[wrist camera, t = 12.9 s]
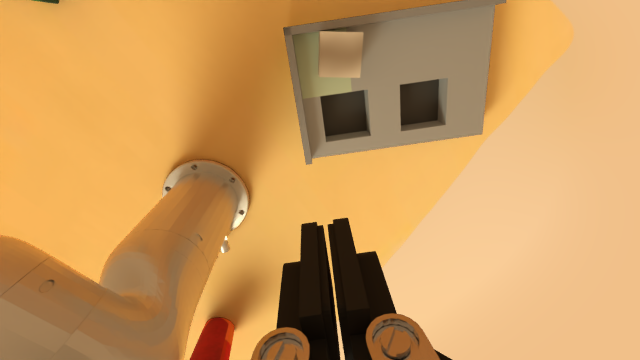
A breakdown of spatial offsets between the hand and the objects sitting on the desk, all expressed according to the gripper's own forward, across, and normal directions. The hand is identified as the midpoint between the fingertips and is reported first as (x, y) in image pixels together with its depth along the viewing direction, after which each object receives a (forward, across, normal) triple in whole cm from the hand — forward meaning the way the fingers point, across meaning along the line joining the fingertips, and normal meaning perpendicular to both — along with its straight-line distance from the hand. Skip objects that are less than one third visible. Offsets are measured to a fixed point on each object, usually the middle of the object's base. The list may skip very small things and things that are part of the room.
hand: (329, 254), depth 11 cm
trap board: (+32, -10, -1) cm, 34 cm away
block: (+29, -4, -6) cm, 30 cm away
